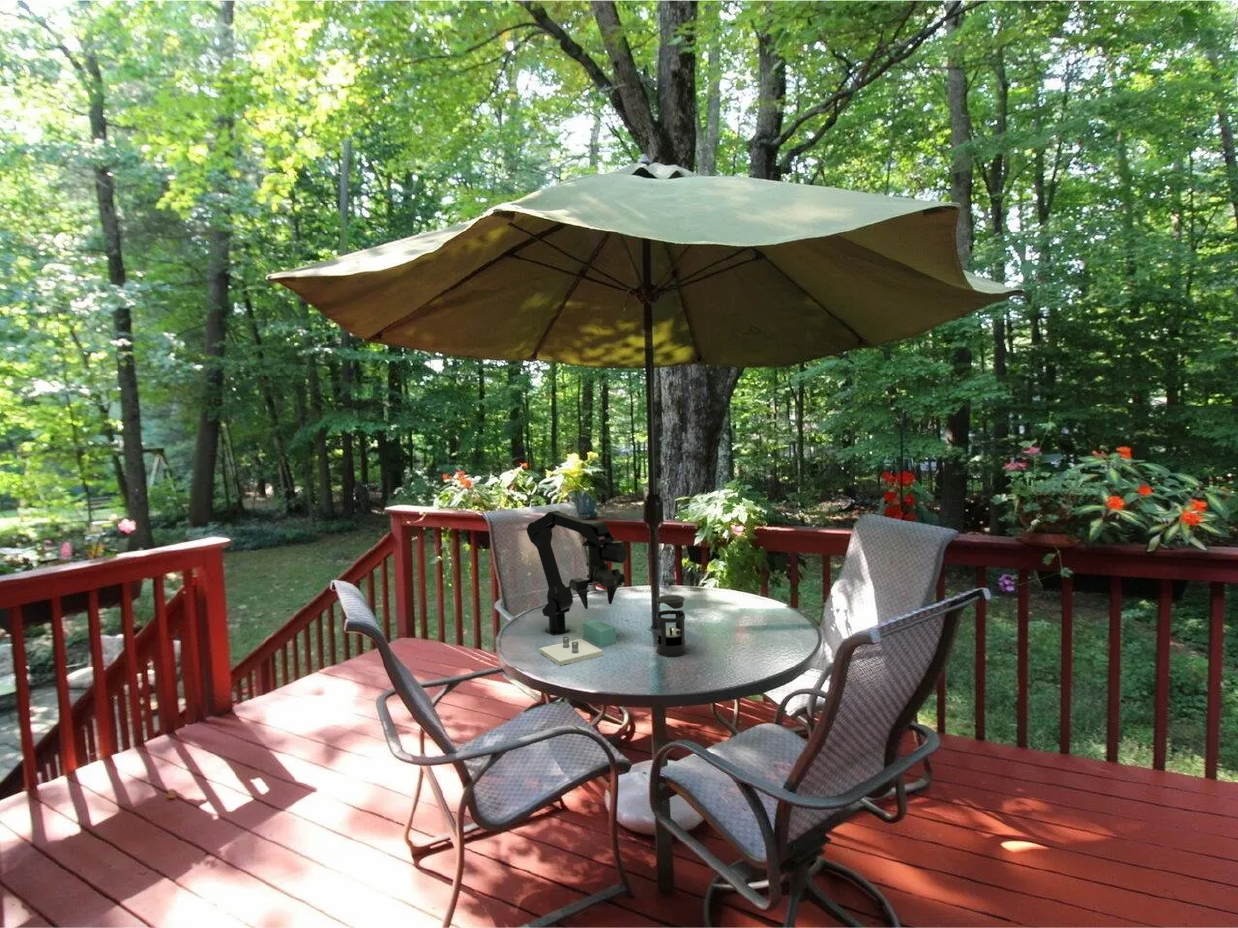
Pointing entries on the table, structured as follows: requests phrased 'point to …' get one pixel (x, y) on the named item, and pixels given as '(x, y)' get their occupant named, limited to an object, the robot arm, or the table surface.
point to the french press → (670, 638)
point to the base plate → (566, 655)
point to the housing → (599, 633)
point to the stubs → (574, 645)
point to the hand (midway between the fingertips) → (598, 606)
